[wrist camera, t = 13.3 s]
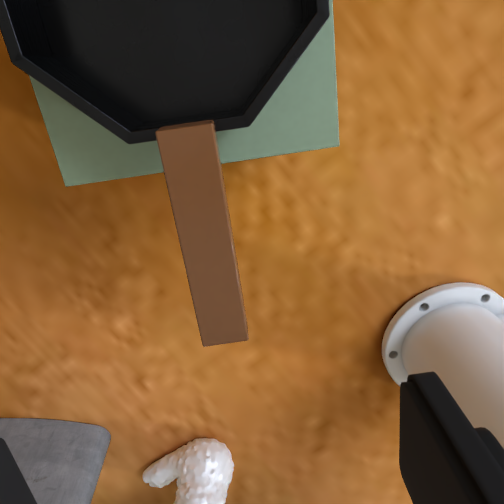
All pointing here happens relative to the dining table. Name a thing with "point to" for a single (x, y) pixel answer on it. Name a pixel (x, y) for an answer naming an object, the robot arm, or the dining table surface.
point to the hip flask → (57, 457)
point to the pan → (172, 101)
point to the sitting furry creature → (195, 472)
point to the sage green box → (229, 141)
